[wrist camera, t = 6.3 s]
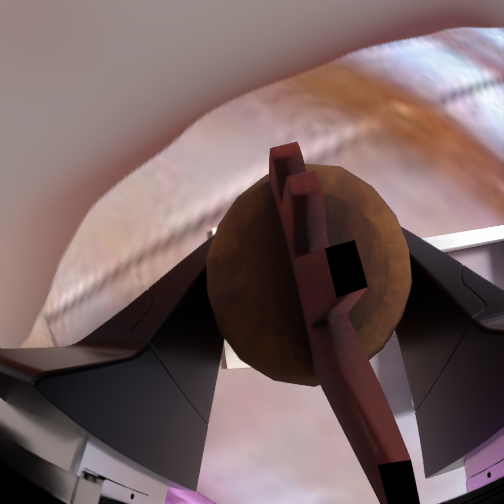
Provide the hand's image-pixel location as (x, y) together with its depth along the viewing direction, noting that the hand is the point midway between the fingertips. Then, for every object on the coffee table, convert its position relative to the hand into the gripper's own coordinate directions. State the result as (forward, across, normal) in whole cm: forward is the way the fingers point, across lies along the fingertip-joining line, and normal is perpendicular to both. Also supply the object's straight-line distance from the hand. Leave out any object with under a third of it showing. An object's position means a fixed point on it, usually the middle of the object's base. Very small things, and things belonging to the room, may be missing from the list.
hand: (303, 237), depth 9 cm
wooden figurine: (+4, 0, +6) cm, 7 cm away
